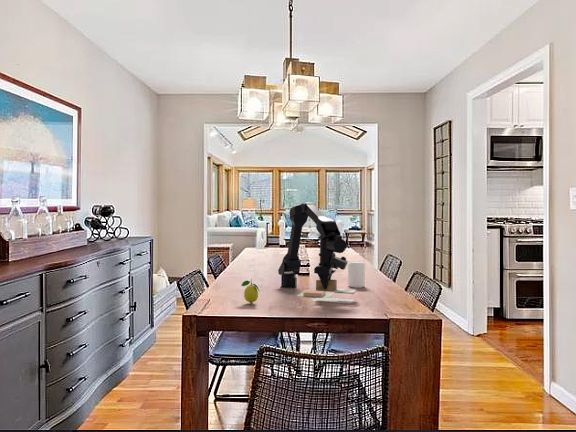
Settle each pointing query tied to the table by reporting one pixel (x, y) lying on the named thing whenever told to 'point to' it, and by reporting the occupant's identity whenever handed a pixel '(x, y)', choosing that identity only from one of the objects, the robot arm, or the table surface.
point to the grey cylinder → (356, 274)
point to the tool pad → (333, 300)
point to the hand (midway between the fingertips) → (326, 288)
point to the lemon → (250, 292)
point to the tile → (314, 293)
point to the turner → (332, 287)
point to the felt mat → (319, 297)
